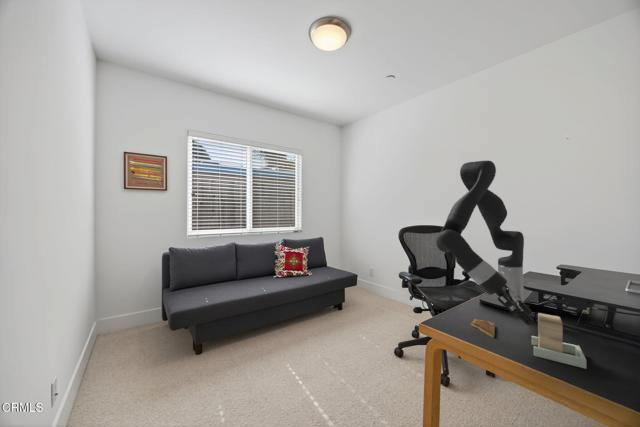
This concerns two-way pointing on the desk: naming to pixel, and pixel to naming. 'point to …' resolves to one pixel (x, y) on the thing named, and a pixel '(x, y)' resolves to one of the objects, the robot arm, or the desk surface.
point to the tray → (561, 354)
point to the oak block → (550, 332)
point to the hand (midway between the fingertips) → (530, 318)
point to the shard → (484, 326)
